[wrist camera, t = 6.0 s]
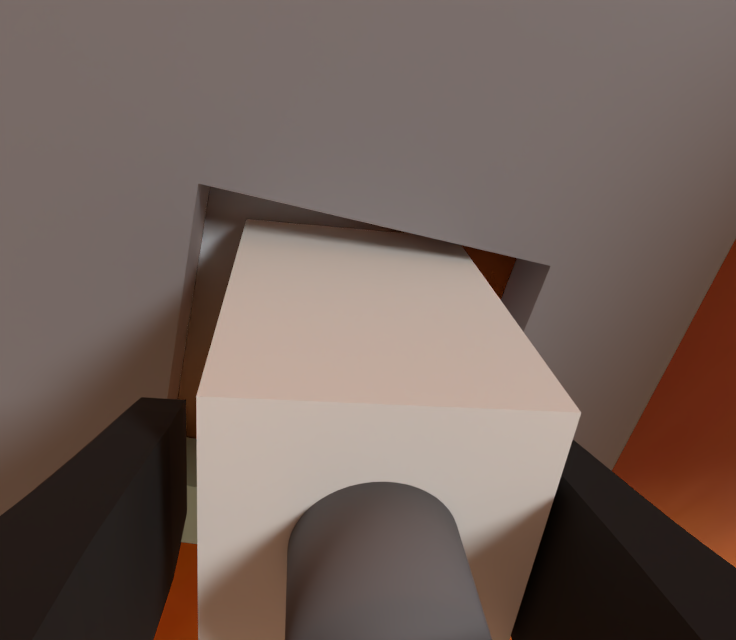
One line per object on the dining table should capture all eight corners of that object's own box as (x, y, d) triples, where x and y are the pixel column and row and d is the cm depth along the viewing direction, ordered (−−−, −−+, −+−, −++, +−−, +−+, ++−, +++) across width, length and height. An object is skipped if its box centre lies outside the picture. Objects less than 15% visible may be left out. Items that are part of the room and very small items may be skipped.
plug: (454, 236, 12) (653, 513, 5) (423, 407, 14) (542, 785, 7) (246, 218, 11) (165, 506, 5) (240, 399, 13) (176, 801, 6)
